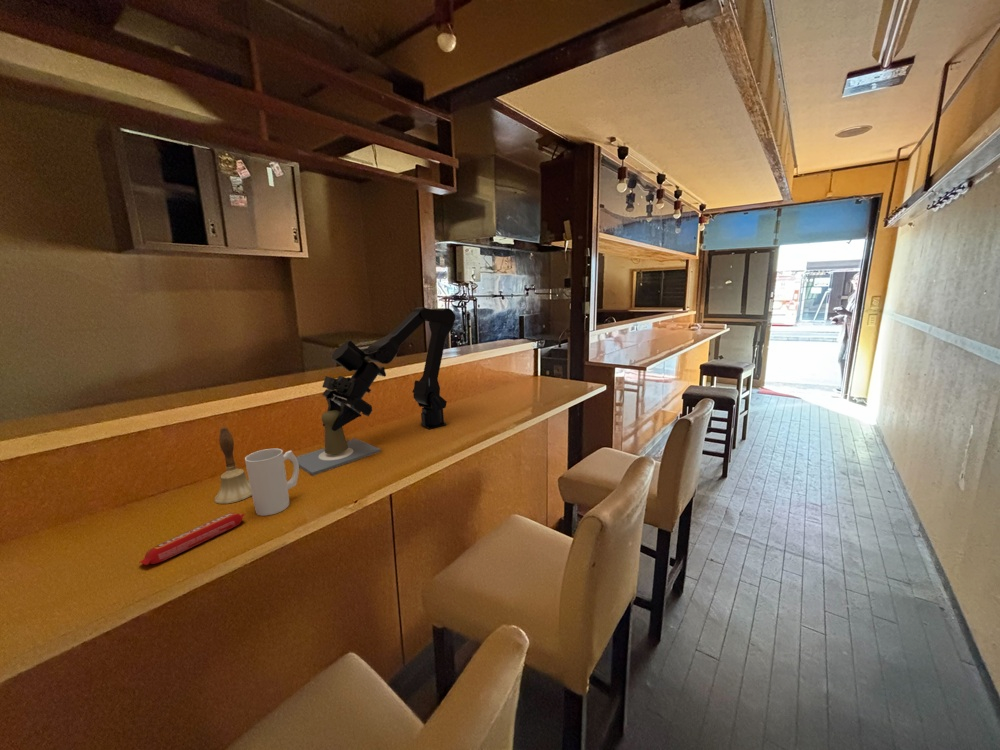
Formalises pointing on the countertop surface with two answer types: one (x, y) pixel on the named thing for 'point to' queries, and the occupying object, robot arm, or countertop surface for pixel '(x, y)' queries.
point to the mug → (270, 479)
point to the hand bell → (231, 474)
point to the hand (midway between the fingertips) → (328, 428)
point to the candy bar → (191, 538)
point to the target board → (335, 457)
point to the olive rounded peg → (333, 434)
